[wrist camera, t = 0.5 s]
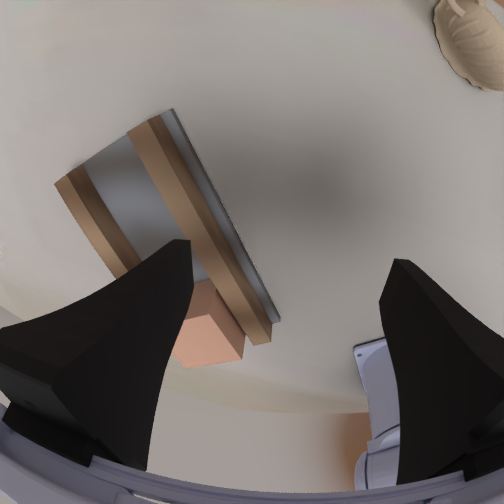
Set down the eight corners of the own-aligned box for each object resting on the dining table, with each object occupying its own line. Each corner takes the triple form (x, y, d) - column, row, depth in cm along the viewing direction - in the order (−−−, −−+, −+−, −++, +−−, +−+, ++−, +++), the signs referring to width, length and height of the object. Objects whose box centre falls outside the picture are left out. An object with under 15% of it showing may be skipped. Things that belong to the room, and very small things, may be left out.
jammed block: (247, 321, 25) (241, 359, 22) (196, 332, 26) (185, 368, 23) (219, 276, 23) (209, 314, 19) (166, 291, 24) (150, 327, 21)
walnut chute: (280, 317, 25) (279, 340, 23) (181, 339, 28) (174, 359, 26) (172, 108, 17) (157, 114, 15) (67, 175, 20) (48, 188, 18)
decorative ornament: (470, 103, 14) (519, 120, 10) (398, -6, 11) (436, -26, 7) (504, 78, 12) (554, 91, 8) (438, -27, 9) (481, -45, 5)
